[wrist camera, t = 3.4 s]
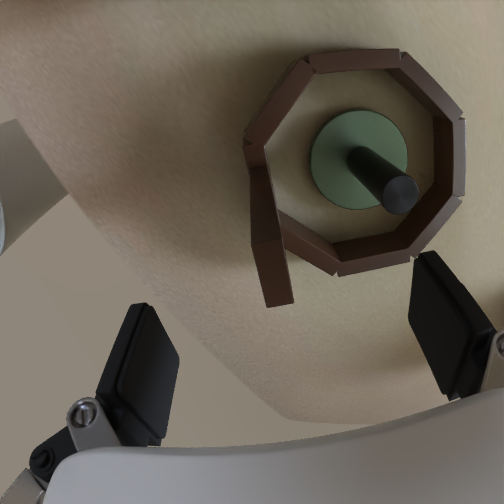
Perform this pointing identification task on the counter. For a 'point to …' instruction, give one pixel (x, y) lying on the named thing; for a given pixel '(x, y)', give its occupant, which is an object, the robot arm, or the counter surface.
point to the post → (362, 162)
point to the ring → (367, 248)
